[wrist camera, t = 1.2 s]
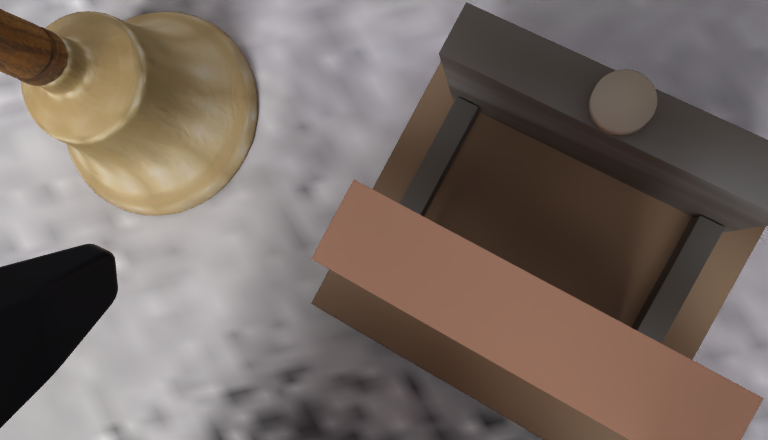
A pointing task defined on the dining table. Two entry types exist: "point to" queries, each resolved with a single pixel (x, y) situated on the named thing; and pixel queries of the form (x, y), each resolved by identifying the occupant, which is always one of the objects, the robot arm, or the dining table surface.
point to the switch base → (566, 203)
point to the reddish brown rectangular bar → (530, 325)
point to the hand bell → (138, 102)
